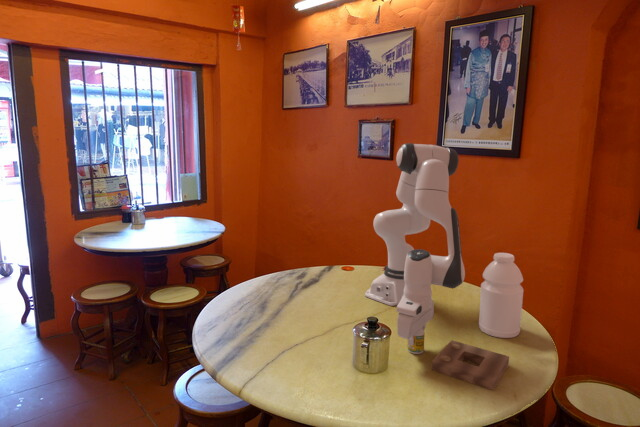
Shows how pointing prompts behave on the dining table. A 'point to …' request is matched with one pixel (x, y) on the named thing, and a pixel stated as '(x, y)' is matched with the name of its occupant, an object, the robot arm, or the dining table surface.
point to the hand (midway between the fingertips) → (416, 340)
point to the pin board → (483, 375)
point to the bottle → (501, 297)
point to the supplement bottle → (418, 342)
